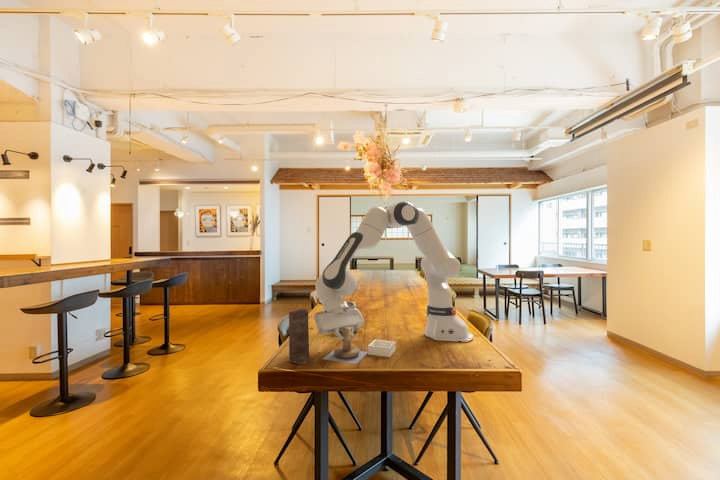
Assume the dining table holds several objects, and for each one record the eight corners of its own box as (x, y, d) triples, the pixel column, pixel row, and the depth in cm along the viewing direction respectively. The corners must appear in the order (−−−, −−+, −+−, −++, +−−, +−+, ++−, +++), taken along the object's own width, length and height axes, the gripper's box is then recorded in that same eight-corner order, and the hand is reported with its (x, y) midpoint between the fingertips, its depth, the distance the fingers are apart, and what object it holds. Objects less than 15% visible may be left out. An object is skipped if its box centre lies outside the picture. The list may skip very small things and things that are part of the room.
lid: (363, 350, 138) (362, 325, 138) (353, 359, 129) (353, 332, 129) (340, 347, 142) (340, 323, 142) (329, 355, 132) (329, 330, 132)
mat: (368, 353, 139) (368, 352, 139) (355, 365, 126) (355, 363, 126) (337, 349, 144) (337, 347, 144) (321, 360, 131) (321, 358, 131)
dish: (395, 351, 142) (395, 341, 142) (389, 358, 133) (389, 348, 133) (375, 348, 145) (375, 339, 145) (367, 355, 137) (367, 345, 137)
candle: (291, 367, 124) (291, 312, 124) (286, 361, 130) (286, 308, 130) (312, 364, 127) (312, 310, 127) (305, 357, 134) (305, 306, 134)
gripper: (314, 308, 135) (326, 339, 127) (358, 302, 146) (371, 330, 138) (309, 317, 139) (321, 348, 131) (352, 311, 150) (365, 338, 142)
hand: (347, 339), depth 135 cm, fingers closed on lid, 3 cm apart
